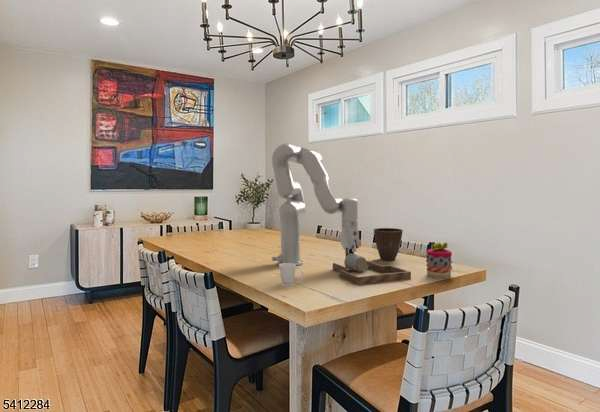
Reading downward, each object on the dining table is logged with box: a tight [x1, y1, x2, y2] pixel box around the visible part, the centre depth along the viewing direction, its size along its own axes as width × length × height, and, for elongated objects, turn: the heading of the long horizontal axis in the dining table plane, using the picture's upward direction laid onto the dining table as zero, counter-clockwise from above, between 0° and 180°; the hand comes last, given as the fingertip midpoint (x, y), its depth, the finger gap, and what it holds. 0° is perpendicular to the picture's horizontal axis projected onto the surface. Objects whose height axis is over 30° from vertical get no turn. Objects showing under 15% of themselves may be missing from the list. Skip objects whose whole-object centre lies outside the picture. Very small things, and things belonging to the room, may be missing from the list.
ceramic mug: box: [343, 253, 369, 273], centre depth 182 cm, size 11×8×8 cm
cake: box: [425, 242, 453, 279], centre depth 171 cm, size 10×11×15 cm
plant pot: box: [373, 227, 403, 262], centre depth 208 cm, size 15×15×16 cm
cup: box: [278, 263, 304, 287], centre depth 157 cm, size 7×10×8 cm
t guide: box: [332, 260, 412, 286], centre depth 174 cm, size 26×29×3 cm
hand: (349, 262), depth 188 cm, fingers closed
